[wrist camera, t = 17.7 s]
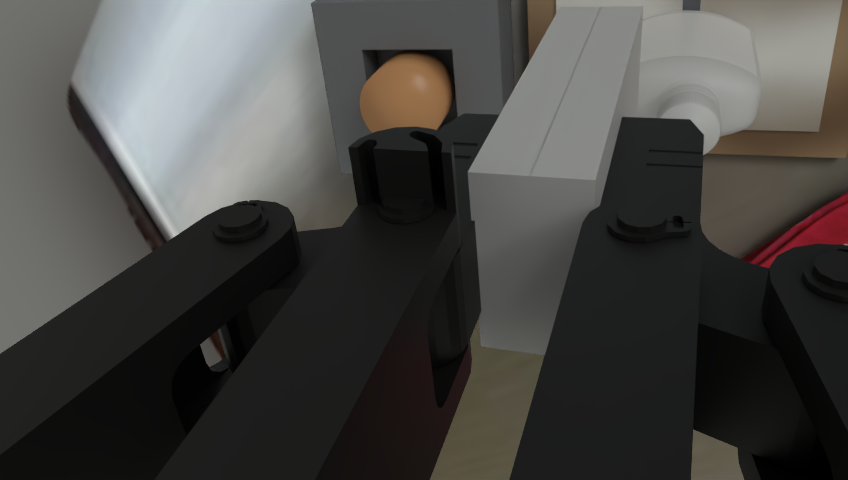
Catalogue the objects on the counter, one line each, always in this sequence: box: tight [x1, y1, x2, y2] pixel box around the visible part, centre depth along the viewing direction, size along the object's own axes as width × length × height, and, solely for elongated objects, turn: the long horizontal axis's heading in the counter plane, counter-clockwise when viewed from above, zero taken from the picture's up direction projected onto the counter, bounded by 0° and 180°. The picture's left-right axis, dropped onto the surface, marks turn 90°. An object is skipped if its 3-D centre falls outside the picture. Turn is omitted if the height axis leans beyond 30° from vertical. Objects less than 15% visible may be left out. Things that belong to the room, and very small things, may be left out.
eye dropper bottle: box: [637, 10, 762, 155], centre depth 33 cm, size 4×6×12 cm
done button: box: [360, 49, 455, 133], centre depth 41 cm, size 4×4×3 cm
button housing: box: [311, 0, 514, 174], centre depth 42 cm, size 10×10×3 cm
